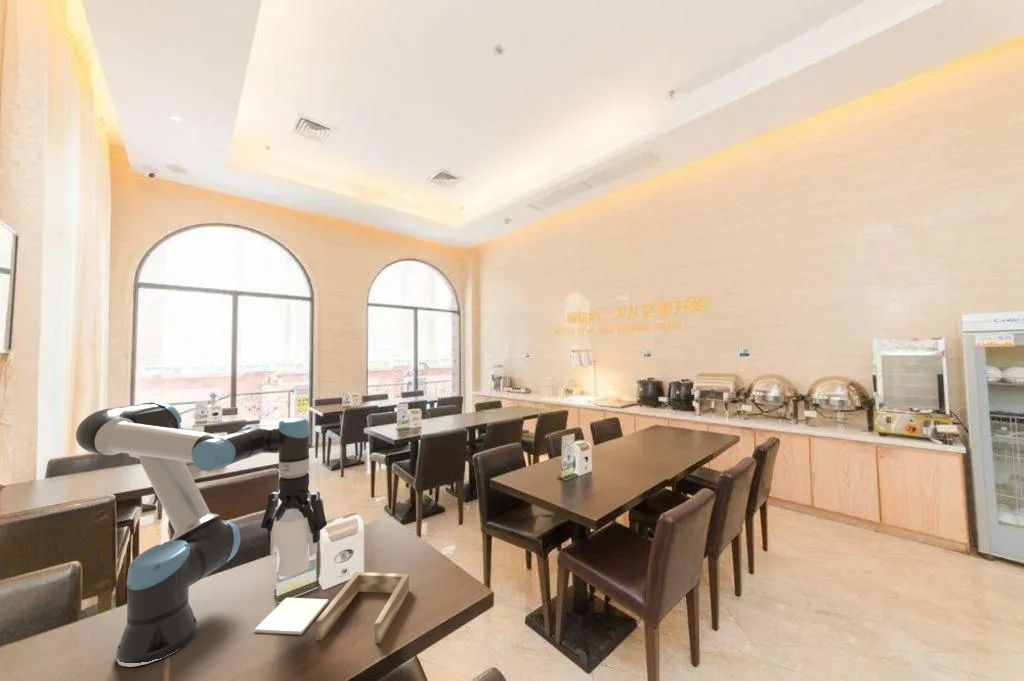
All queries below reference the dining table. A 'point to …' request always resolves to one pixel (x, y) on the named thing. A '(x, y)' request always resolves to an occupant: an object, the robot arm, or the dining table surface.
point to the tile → (292, 616)
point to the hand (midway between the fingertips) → (294, 553)
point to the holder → (367, 583)
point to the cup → (292, 542)
